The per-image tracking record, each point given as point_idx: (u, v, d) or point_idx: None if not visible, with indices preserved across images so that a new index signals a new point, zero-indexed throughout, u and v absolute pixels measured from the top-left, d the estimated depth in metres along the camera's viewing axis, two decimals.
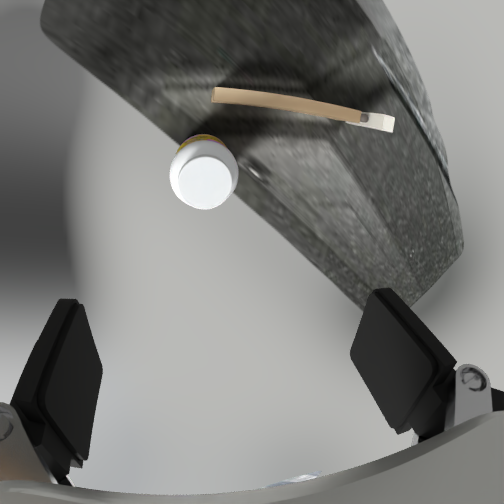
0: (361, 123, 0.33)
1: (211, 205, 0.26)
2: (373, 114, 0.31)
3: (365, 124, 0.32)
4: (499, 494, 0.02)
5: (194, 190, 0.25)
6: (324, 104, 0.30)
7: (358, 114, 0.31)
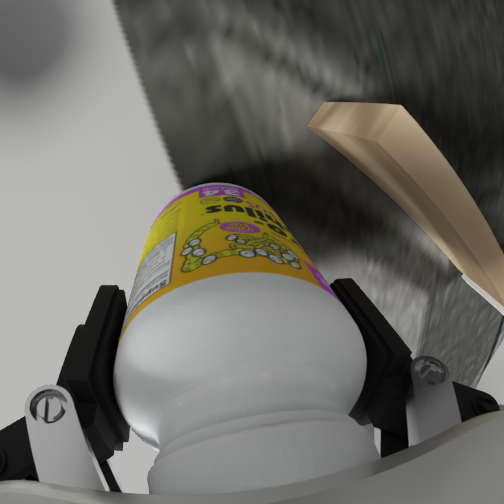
0: (496, 301, 0.17)
1: None
2: None
3: None
4: (499, 494, 0.02)
5: None
6: None
7: None
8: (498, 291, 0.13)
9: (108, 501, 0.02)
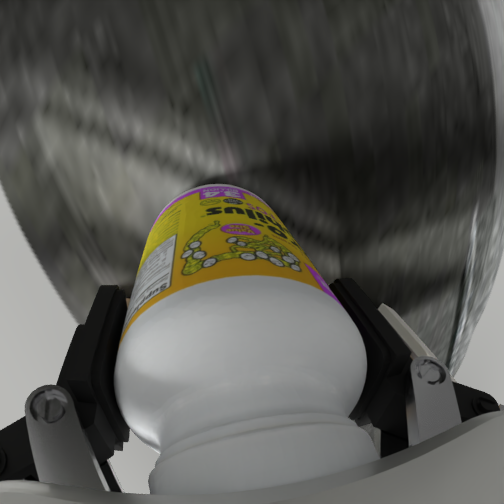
0: None
1: None
2: None
3: None
4: (499, 494, 0.02)
5: None
6: None
7: None
8: None
9: (108, 501, 0.02)
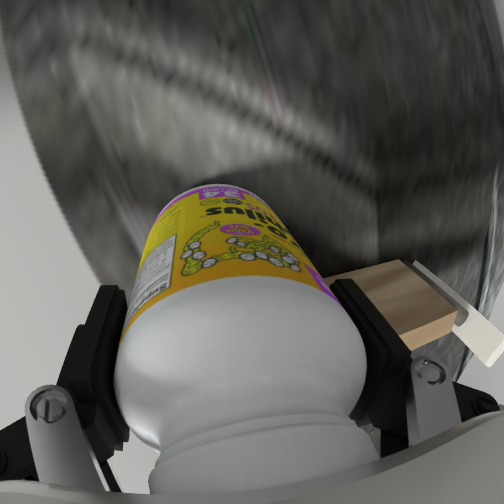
0: None
1: None
2: (478, 316, 0.13)
3: None
4: (499, 494, 0.02)
5: None
6: None
7: (451, 319, 0.13)
8: None
9: (108, 501, 0.02)
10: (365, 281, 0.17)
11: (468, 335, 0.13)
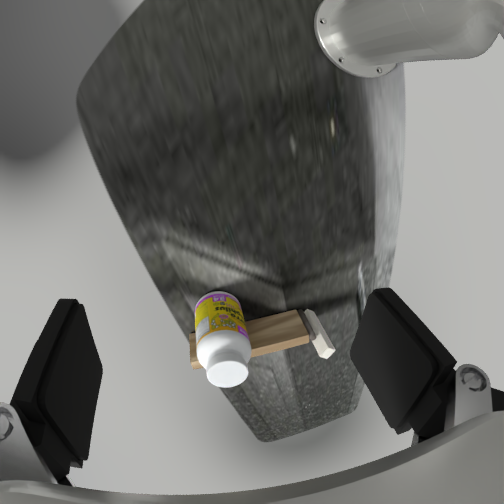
0: None
1: (224, 386, 0.33)
2: (321, 337, 0.41)
3: None
4: (499, 494, 0.02)
5: (218, 376, 0.32)
6: (275, 344, 0.40)
7: (306, 337, 0.41)
8: (282, 349, 0.41)
9: (108, 501, 0.02)
10: (277, 320, 0.44)
11: (316, 344, 0.41)
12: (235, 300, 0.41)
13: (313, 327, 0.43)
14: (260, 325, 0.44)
